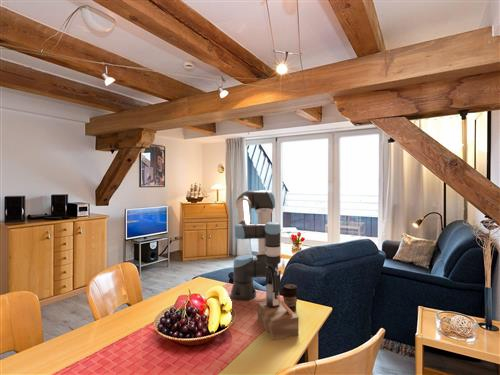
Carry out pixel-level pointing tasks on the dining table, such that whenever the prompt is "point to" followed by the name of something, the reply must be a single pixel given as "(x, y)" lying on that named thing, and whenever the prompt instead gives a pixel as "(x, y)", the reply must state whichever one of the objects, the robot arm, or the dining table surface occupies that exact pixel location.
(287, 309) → the keeper
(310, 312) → the dining table surface
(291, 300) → the coffee cup
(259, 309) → the hitch block
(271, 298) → the pin
